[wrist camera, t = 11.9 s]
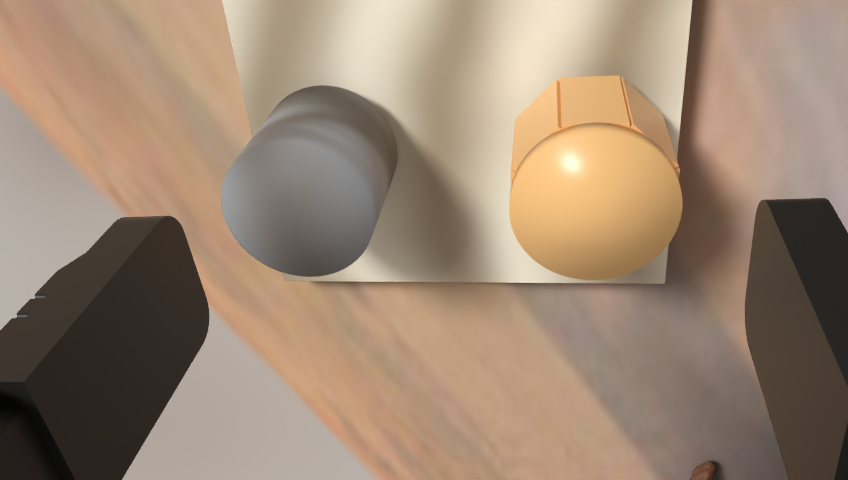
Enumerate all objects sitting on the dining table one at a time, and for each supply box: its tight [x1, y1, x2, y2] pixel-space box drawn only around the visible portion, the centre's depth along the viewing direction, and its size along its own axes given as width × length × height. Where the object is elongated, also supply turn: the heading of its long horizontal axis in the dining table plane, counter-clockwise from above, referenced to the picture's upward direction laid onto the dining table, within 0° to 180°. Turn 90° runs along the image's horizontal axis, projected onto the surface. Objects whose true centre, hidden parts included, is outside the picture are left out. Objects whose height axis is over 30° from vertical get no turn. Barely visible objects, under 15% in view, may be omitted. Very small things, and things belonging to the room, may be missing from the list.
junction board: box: [221, 0, 692, 284], centre depth 29 cm, size 17×14×7 cm
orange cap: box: [509, 75, 683, 280], centre depth 27 cm, size 6×6×5 cm
